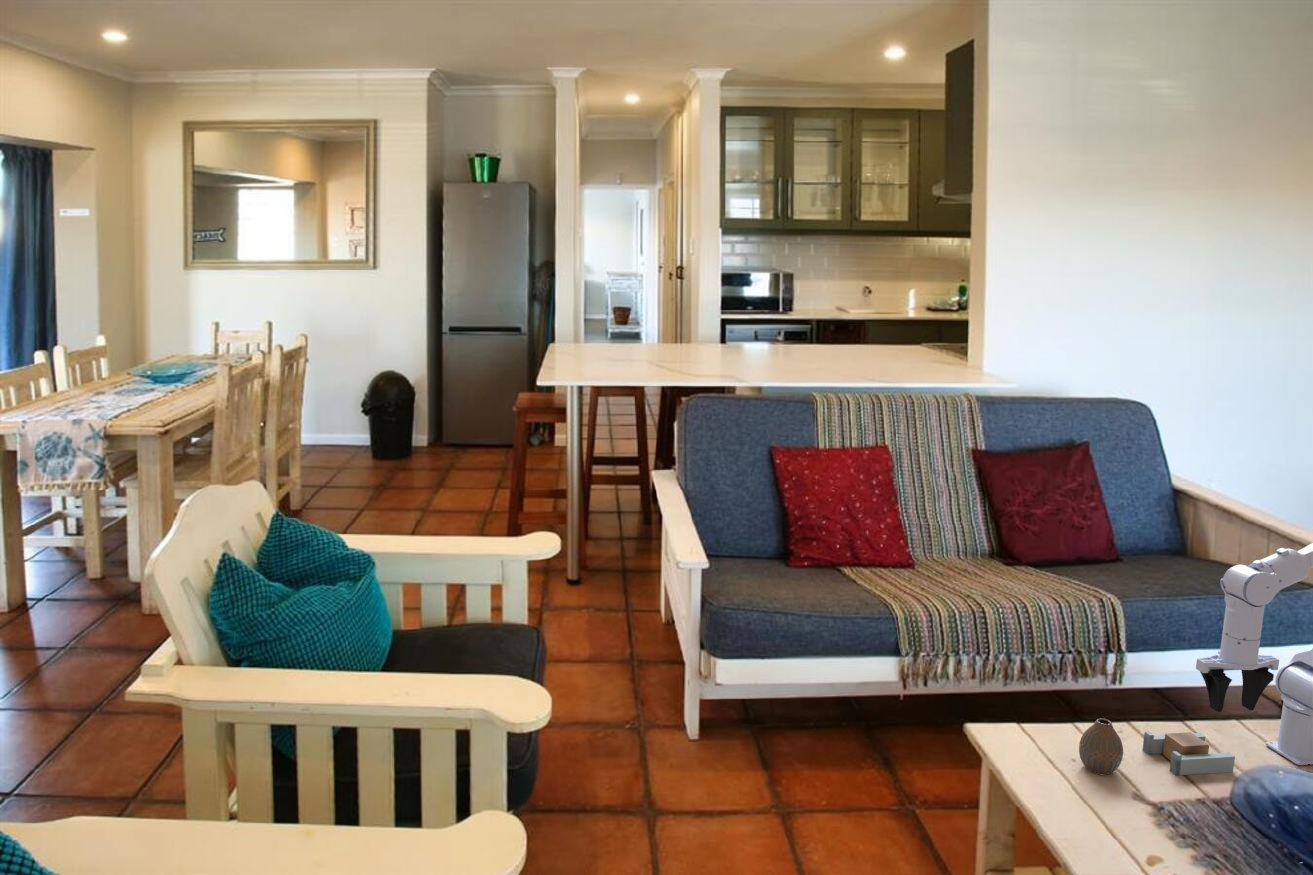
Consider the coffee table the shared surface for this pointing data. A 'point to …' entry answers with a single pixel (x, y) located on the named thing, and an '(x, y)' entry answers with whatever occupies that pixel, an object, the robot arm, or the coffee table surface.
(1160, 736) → the pair of lipped bars
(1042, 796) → the coffee table surface
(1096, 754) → the vase
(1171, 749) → the walnut block
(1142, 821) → the coffee table surface
